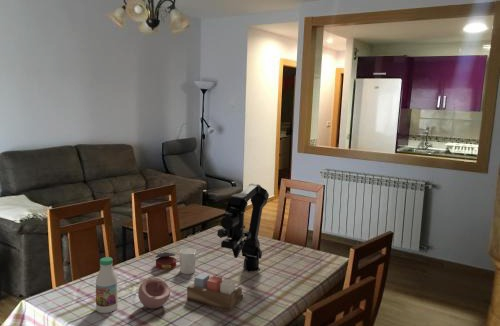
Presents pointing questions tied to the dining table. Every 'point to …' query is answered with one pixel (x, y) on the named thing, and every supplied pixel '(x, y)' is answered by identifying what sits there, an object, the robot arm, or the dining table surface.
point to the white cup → (187, 260)
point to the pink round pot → (153, 293)
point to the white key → (227, 287)
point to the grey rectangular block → (201, 280)
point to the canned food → (165, 261)
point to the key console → (214, 297)
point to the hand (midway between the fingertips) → (235, 257)
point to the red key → (214, 283)
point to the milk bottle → (106, 287)
